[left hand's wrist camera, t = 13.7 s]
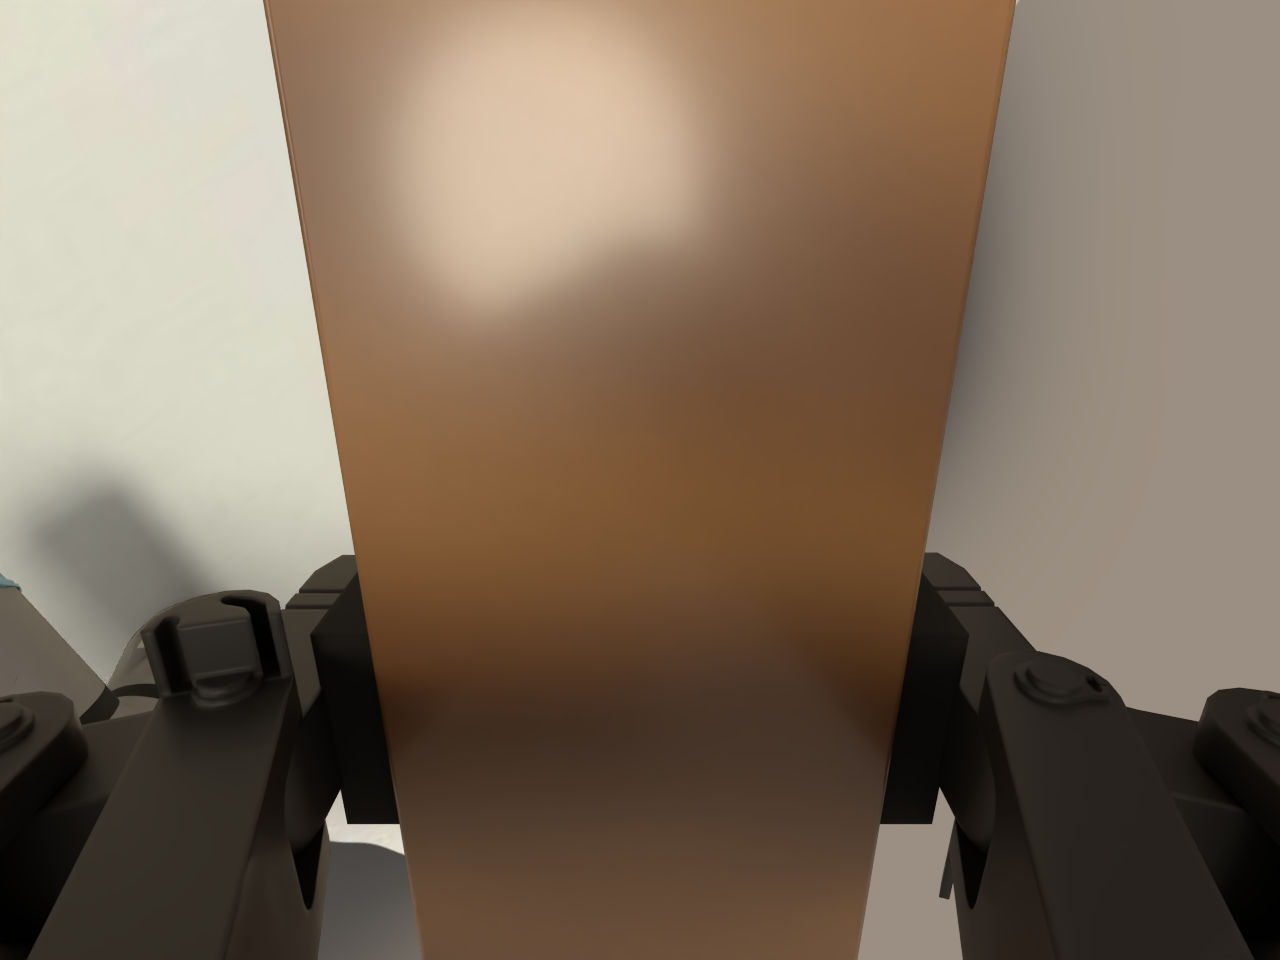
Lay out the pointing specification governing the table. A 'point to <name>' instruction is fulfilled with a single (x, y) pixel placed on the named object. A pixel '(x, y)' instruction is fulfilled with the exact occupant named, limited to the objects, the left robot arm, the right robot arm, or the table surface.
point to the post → (639, 437)
